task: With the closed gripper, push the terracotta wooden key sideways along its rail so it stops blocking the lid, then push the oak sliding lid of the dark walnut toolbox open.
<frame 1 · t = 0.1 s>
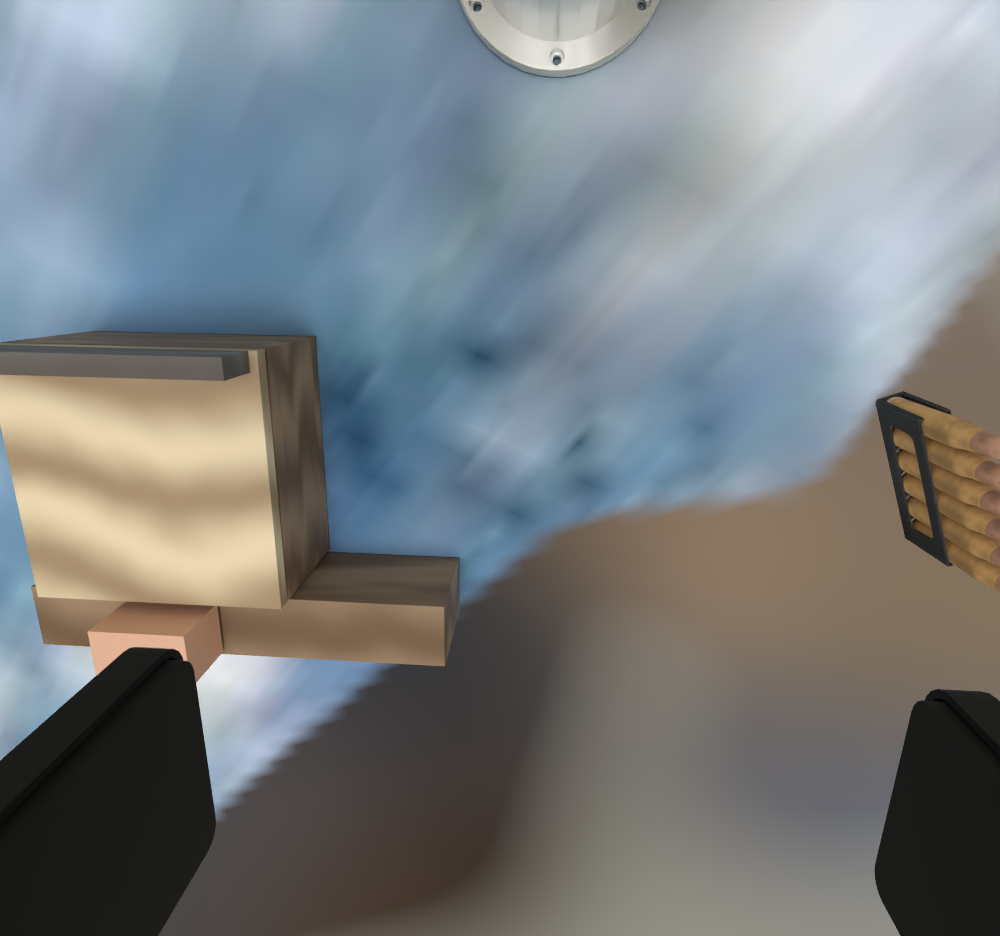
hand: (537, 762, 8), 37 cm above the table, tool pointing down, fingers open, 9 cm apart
ammunition clip: (902, 466, 44), on the table
toolbox: (216, 444, 47), on the table
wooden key: (159, 641, 40), point 10 cm above the table, slide at 0.0 cm
toolbox lid: (128, 488, 37), point 10 cm above the table, slide at 0.0 cm
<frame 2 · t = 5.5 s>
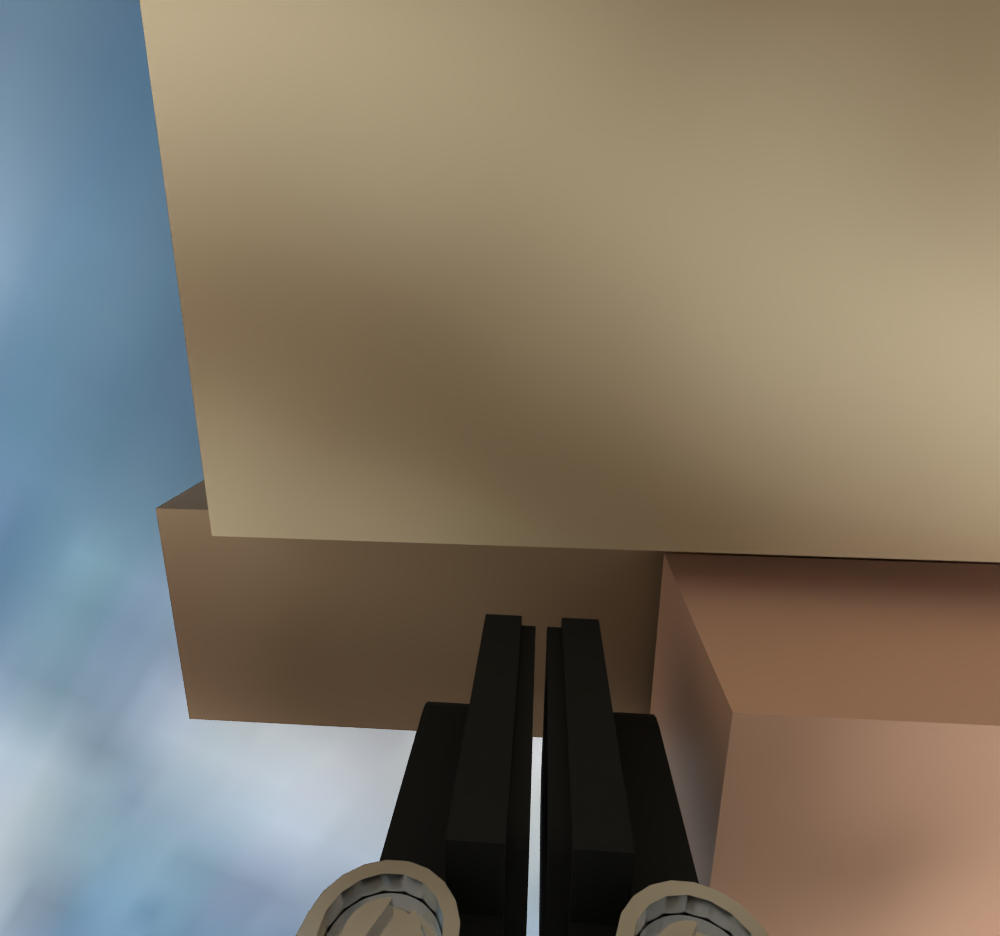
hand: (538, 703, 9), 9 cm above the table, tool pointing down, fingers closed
toolbox: (684, 91, 15), on the table
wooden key: (897, 738, 9), point 10 cm above the table, slide at 1.8 cm, touching gripper
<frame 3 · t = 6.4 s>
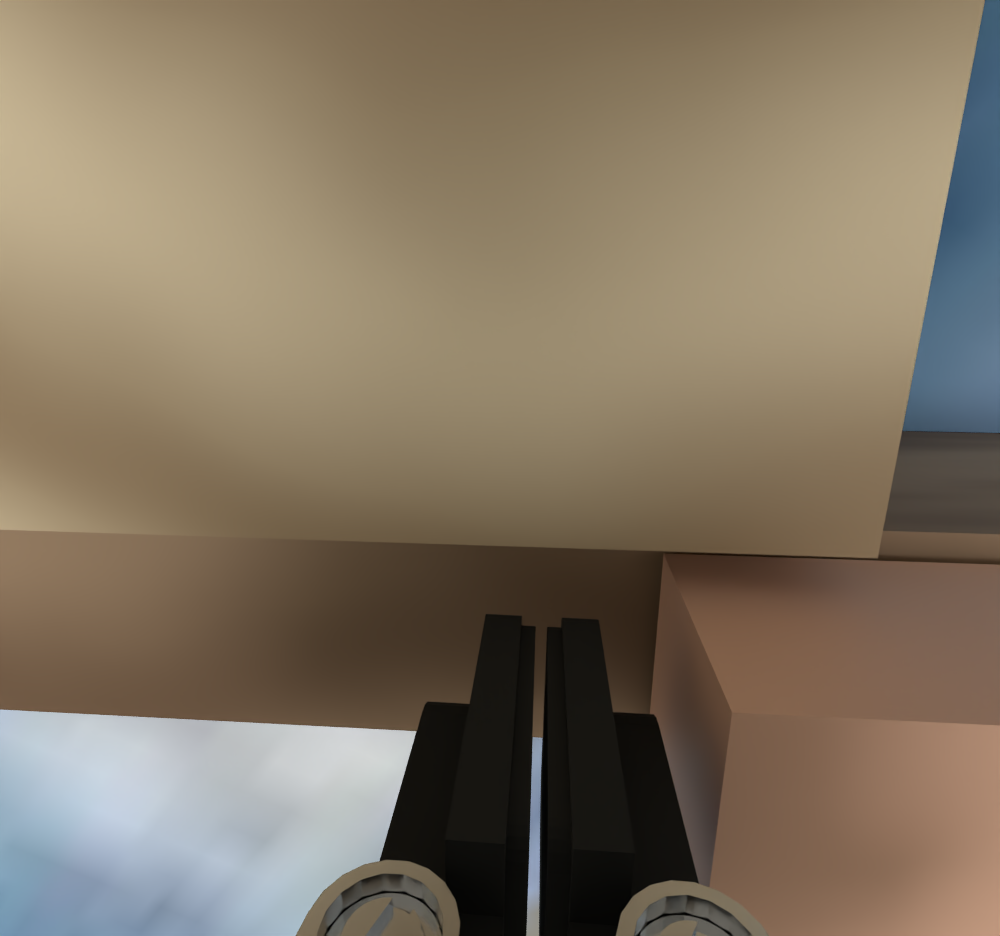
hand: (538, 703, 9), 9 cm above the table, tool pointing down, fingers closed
toolbox: (413, 95, 16), on the table
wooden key: (896, 738, 9), point 10 cm above the table, slide at 8.5 cm, touching gripper
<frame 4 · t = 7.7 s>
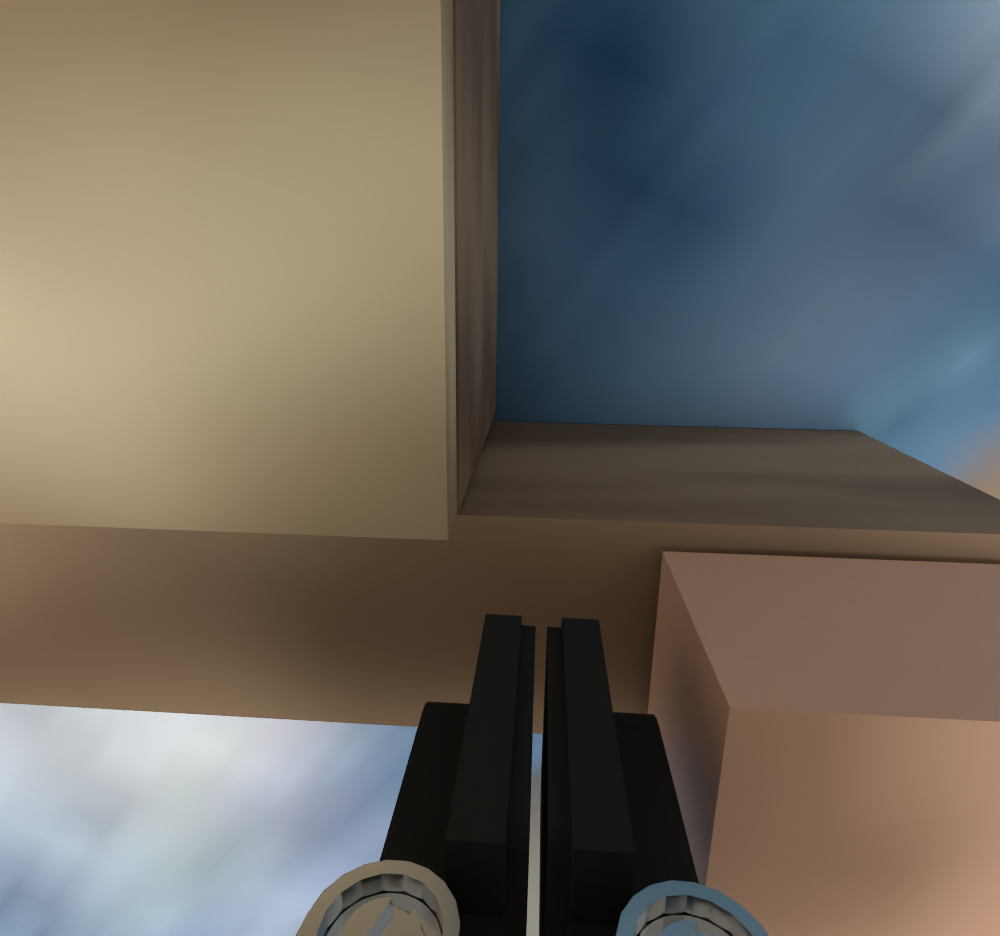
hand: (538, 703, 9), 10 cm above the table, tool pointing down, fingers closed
toolbox: (187, 95, 16), on the table
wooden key: (892, 735, 9), point 10 cm above the table, slide at 14.4 cm, touching gripper
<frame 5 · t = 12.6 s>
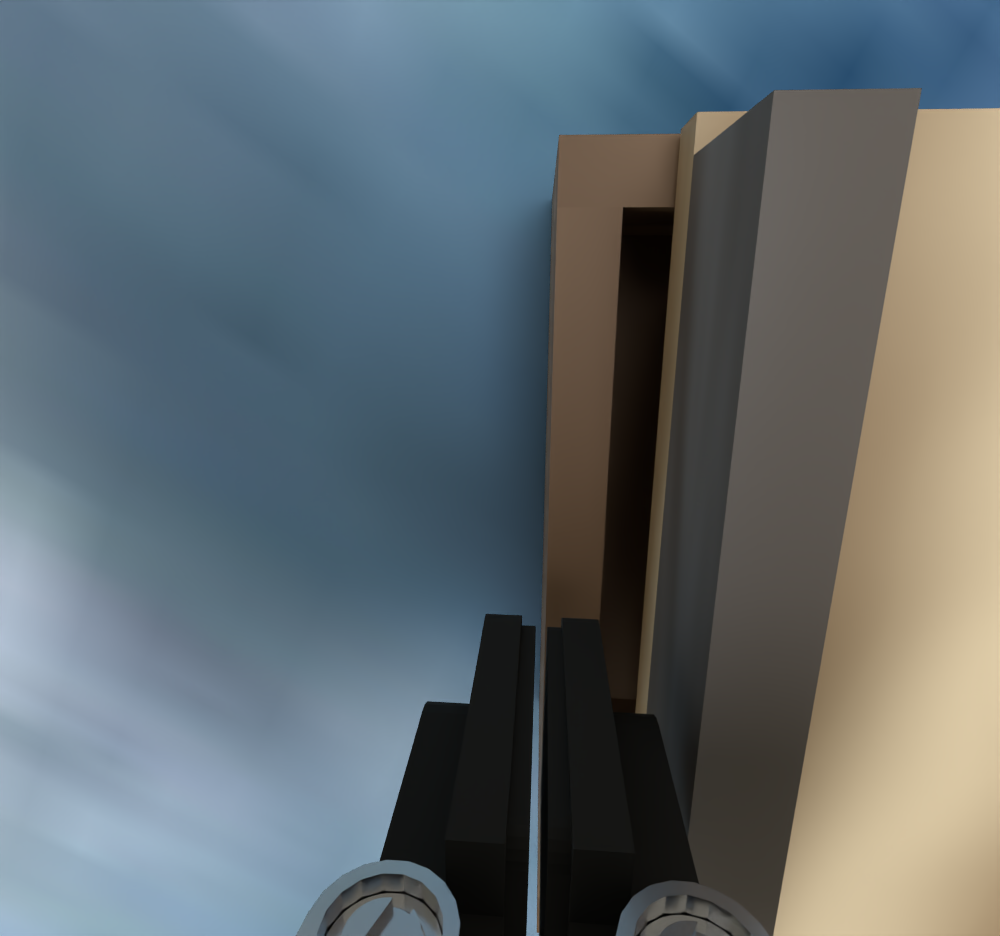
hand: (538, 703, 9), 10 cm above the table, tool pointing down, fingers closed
toolbox: (813, 486, 19), on the table
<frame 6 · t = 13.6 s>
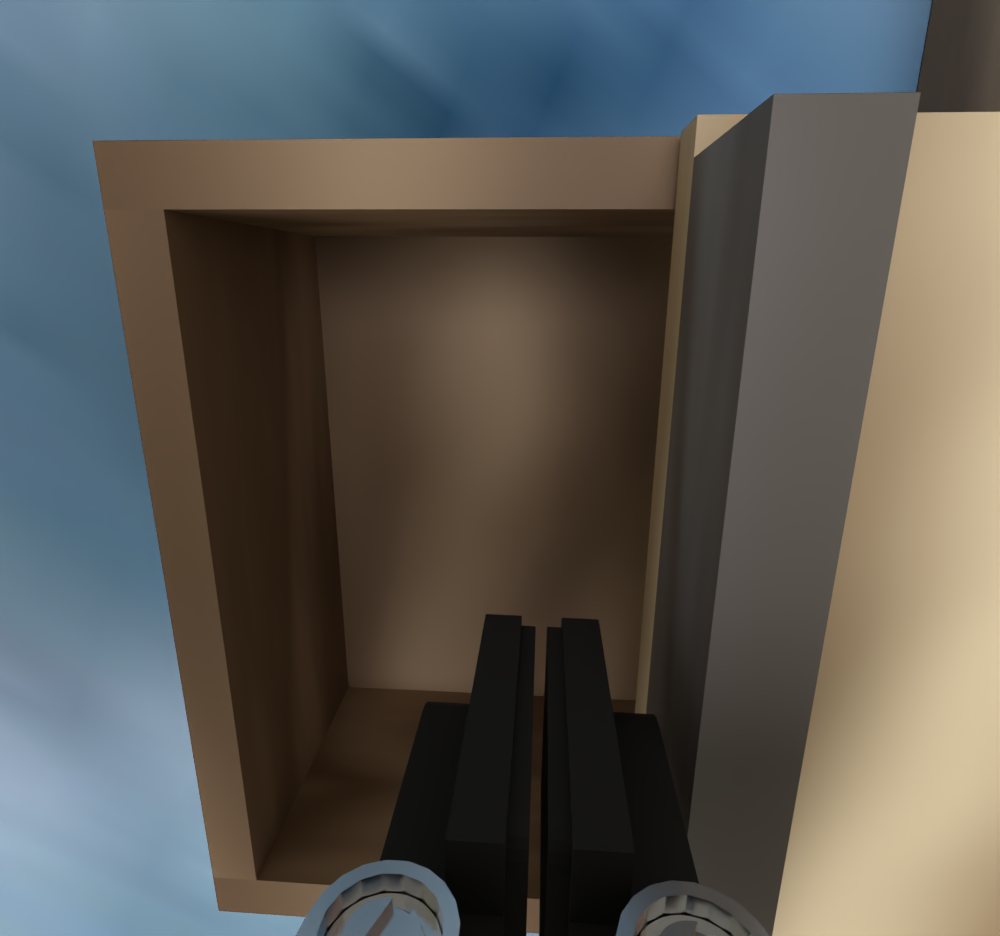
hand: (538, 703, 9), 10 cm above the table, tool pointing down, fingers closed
toolbox: (568, 481, 19), on the table
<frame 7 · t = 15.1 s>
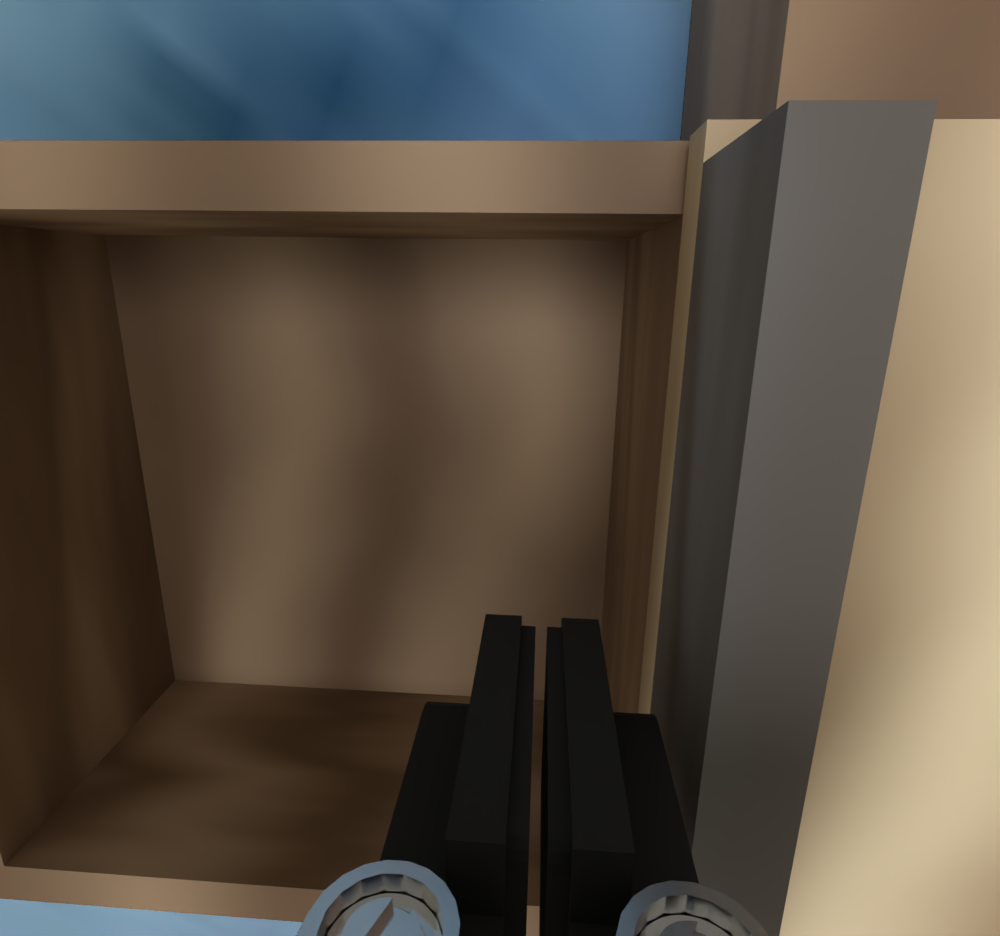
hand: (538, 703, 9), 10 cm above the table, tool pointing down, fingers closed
toolbox: (380, 478, 20), on the table
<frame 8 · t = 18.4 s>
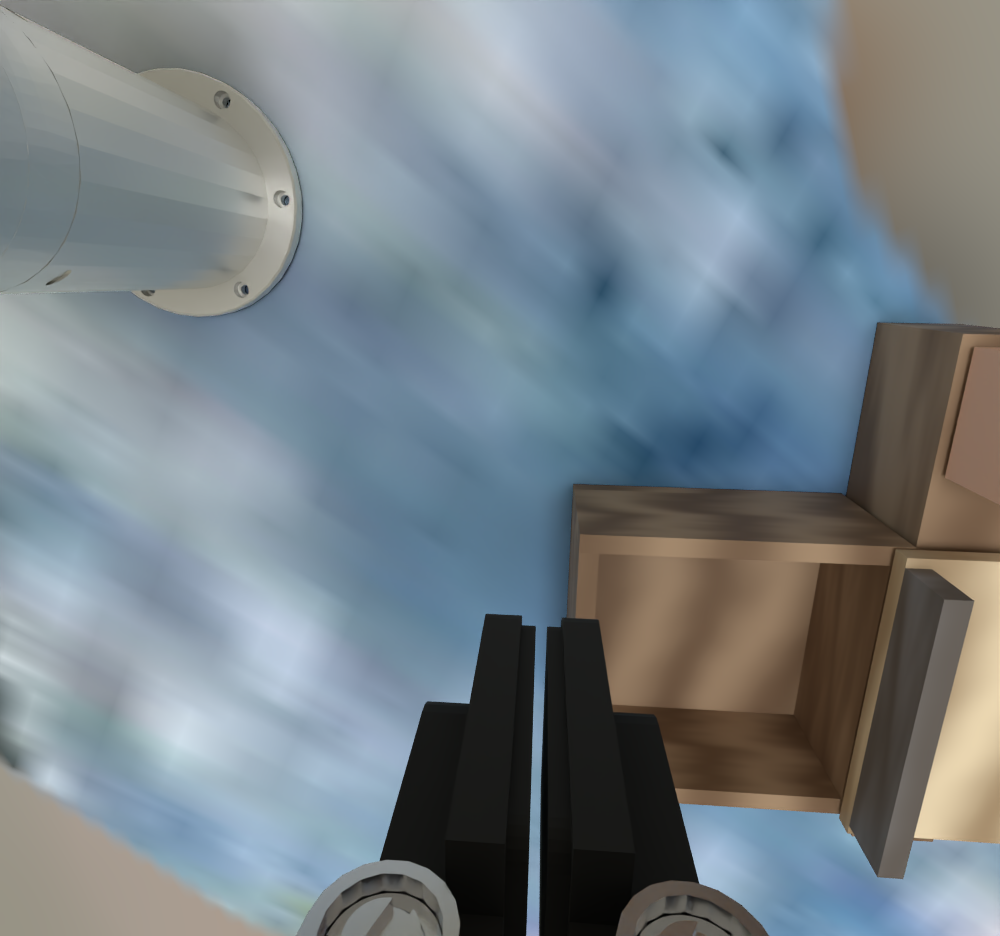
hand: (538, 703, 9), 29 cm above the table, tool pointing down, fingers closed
toolbox: (692, 606, 41), on the table
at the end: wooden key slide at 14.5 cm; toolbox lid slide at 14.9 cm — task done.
